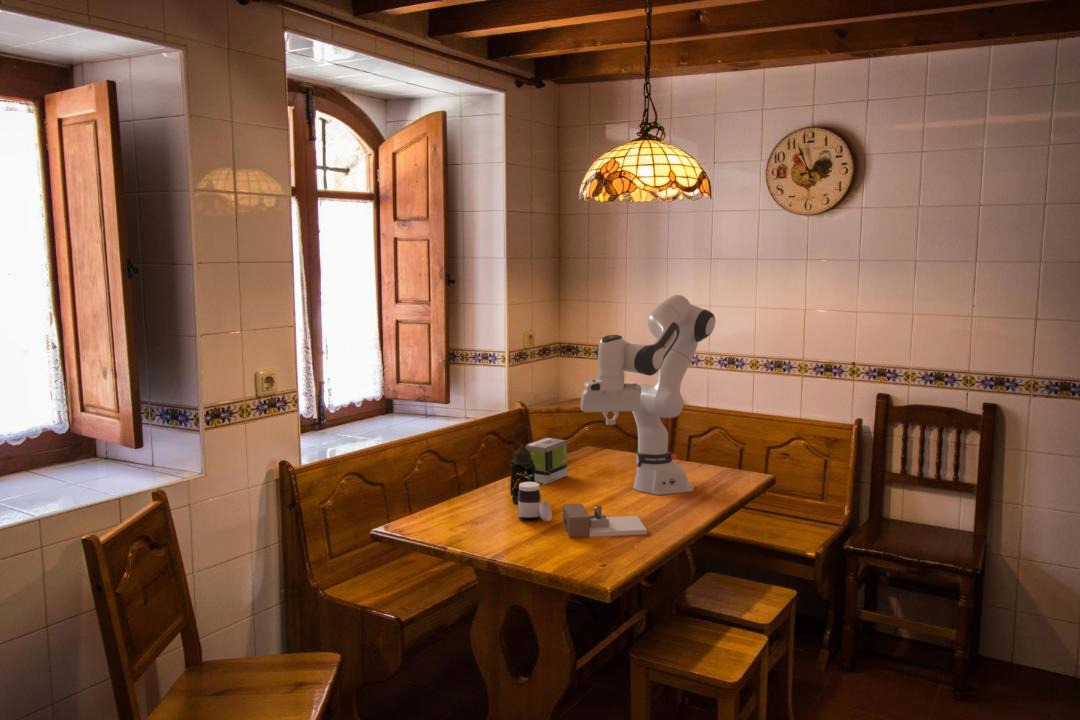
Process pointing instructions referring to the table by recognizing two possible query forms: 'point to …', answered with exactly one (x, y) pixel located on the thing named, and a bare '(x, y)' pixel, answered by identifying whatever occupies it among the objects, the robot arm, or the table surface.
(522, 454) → the lantern
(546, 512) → the spread jar
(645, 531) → the door plate
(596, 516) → the bolt
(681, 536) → the table surface
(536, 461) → the tea box
